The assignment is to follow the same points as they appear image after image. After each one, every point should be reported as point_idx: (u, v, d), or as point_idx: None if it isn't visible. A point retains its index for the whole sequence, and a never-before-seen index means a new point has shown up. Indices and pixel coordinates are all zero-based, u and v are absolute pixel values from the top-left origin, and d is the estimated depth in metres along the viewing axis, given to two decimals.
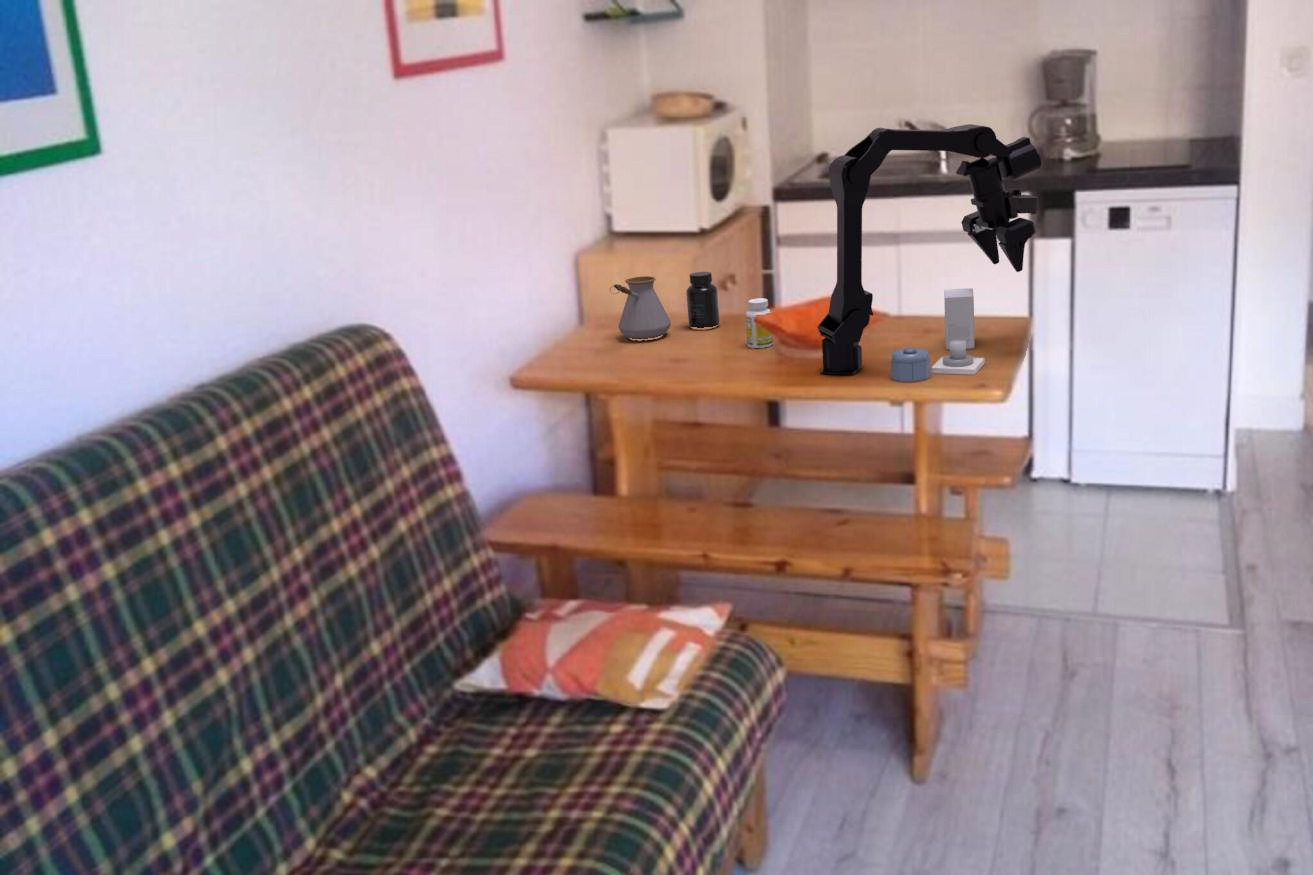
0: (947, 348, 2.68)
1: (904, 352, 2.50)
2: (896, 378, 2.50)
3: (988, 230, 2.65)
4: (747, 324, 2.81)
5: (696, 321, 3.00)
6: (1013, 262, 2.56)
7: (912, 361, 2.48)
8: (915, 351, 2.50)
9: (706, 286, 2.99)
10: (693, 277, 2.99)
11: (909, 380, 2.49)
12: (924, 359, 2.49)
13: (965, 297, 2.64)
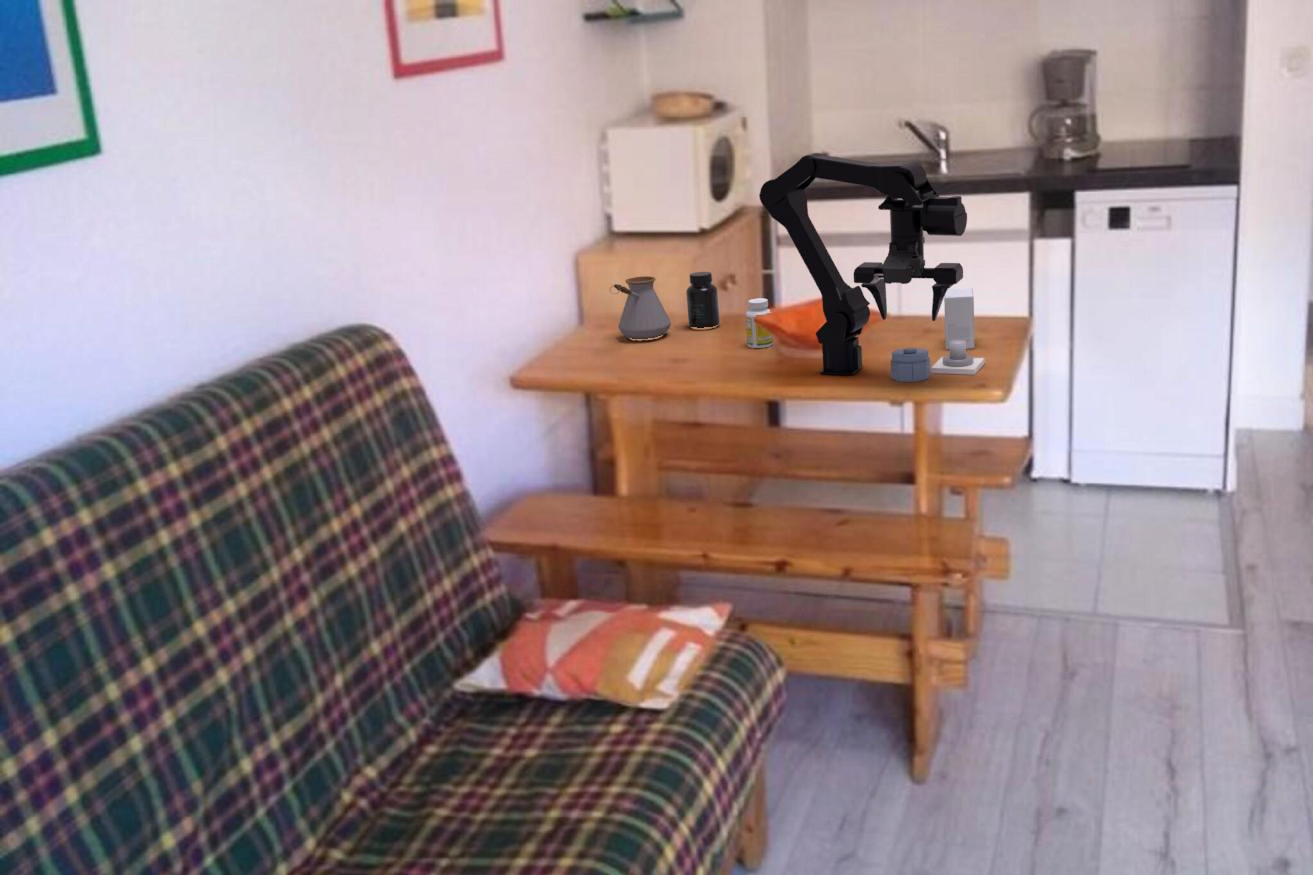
0: (947, 348, 2.68)
1: (904, 352, 2.50)
2: (896, 378, 2.50)
3: None
4: (747, 324, 2.81)
5: (696, 321, 3.00)
6: None
7: (912, 361, 2.48)
8: (915, 351, 2.50)
9: (706, 286, 2.99)
10: (693, 277, 2.99)
11: (909, 380, 2.49)
12: (924, 359, 2.49)
13: (965, 297, 2.64)
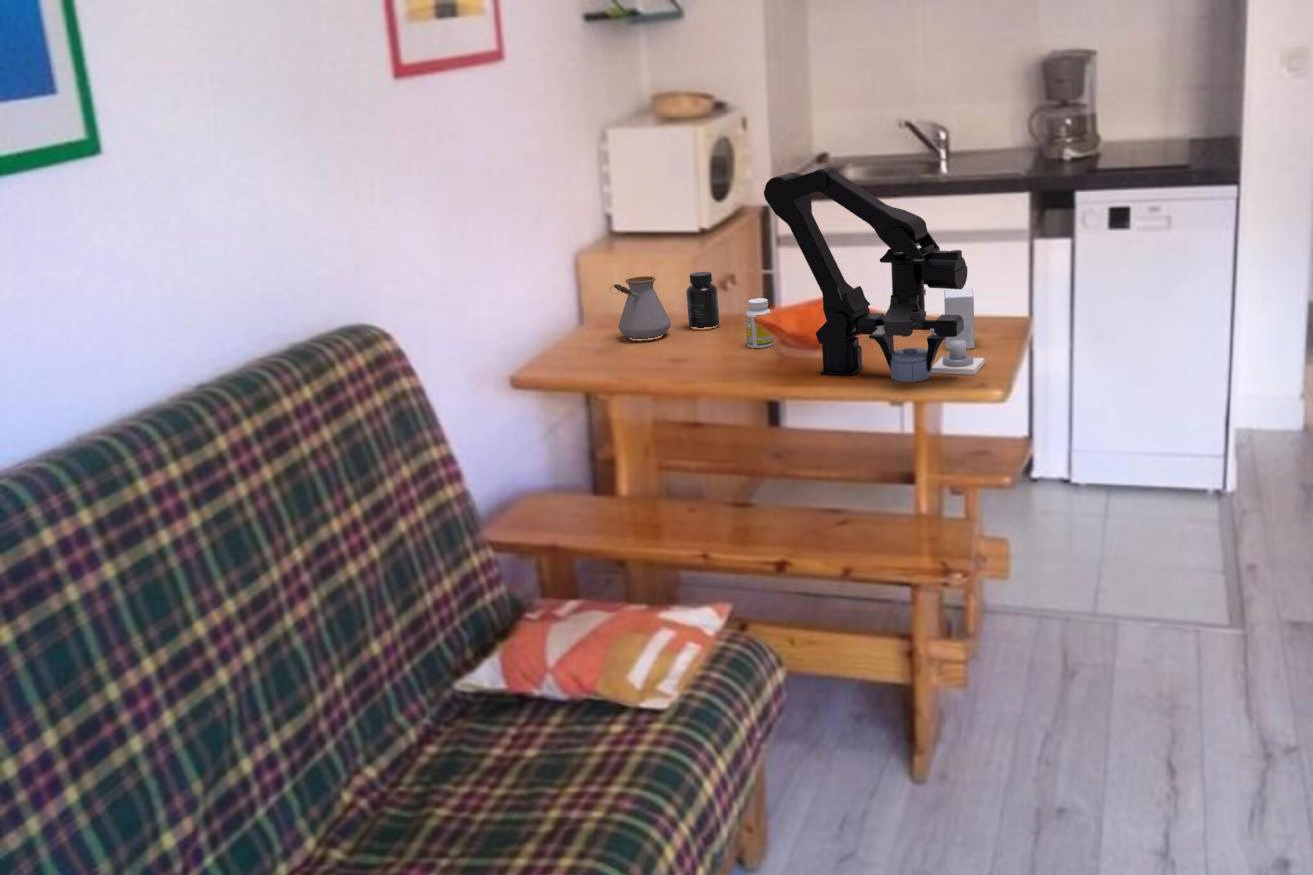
0: (947, 348, 2.68)
1: (904, 352, 2.50)
2: (896, 378, 2.50)
3: None
4: (747, 324, 2.81)
5: (696, 321, 3.00)
6: None
7: (912, 361, 2.48)
8: (915, 351, 2.50)
9: (706, 286, 2.99)
10: (693, 277, 2.99)
11: (909, 380, 2.49)
12: (924, 359, 2.49)
13: (965, 297, 2.64)
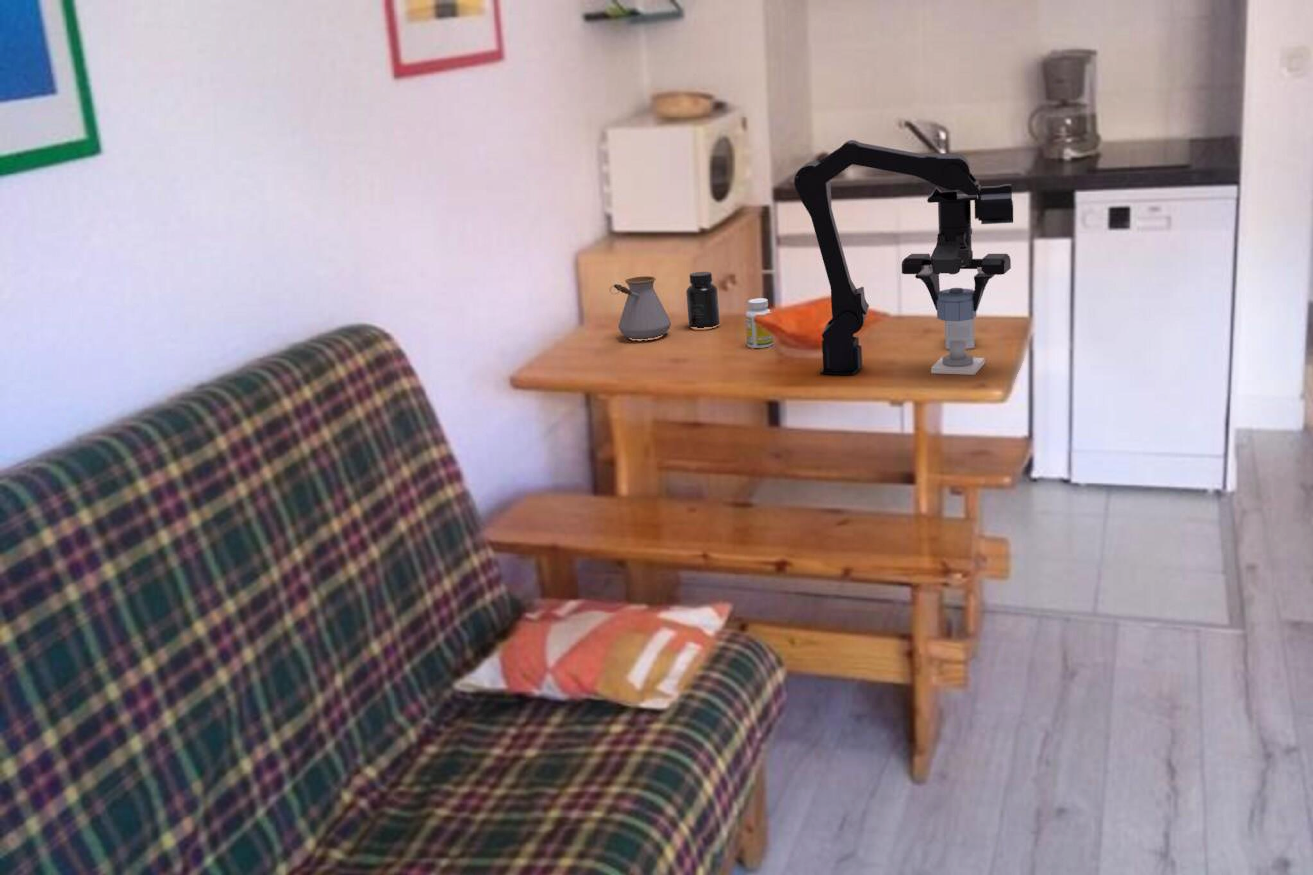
0: (947, 348, 2.68)
1: (950, 292, 2.50)
2: (942, 318, 2.50)
3: None
4: (747, 324, 2.81)
5: (696, 321, 3.00)
6: None
7: (959, 300, 2.48)
8: (961, 291, 2.50)
9: (706, 286, 2.99)
10: (693, 277, 2.99)
11: (956, 319, 2.49)
12: (971, 298, 2.48)
13: None
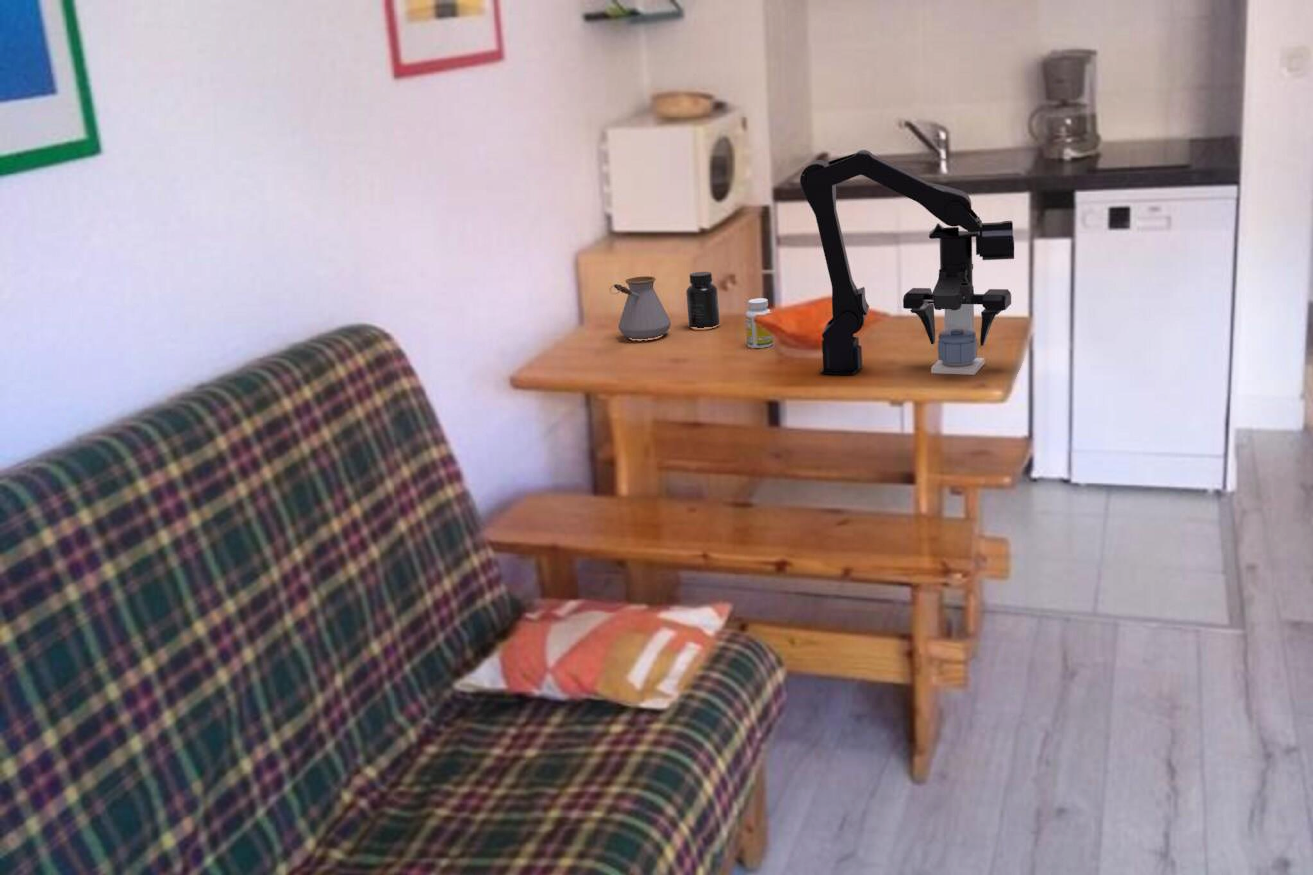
0: None
1: (951, 333, 2.52)
2: (944, 359, 2.53)
3: None
4: (747, 324, 2.81)
5: (696, 321, 3.00)
6: None
7: (960, 342, 2.50)
8: (962, 332, 2.52)
9: (706, 286, 2.99)
10: (693, 277, 2.99)
11: (957, 361, 2.51)
12: (972, 340, 2.51)
13: None
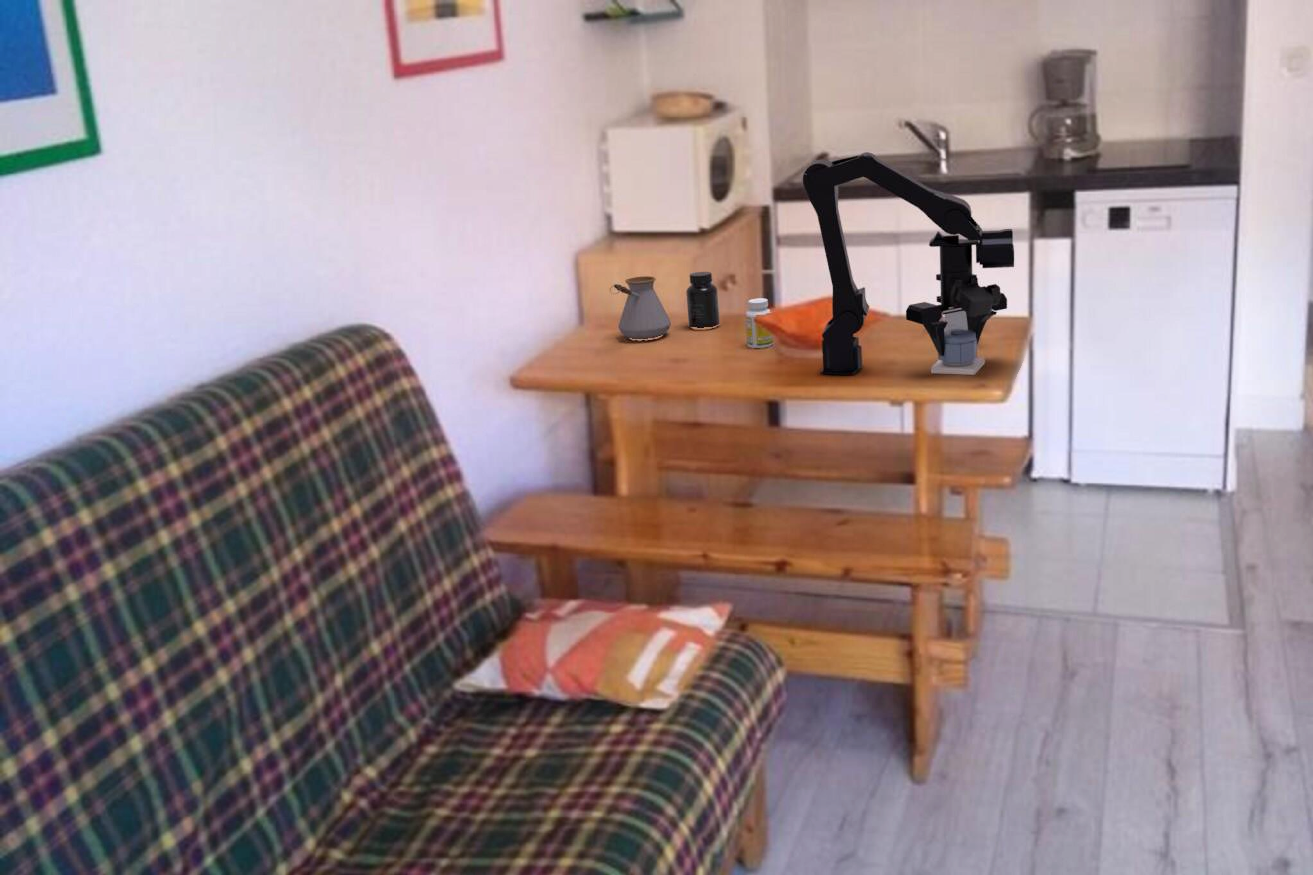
0: None
1: (951, 333, 2.52)
2: (944, 359, 2.53)
3: None
4: (747, 324, 2.81)
5: (696, 321, 3.00)
6: (933, 342, 2.53)
7: (960, 342, 2.50)
8: (962, 332, 2.52)
9: (706, 286, 2.99)
10: (693, 277, 2.99)
11: (957, 361, 2.51)
12: (972, 340, 2.51)
13: None
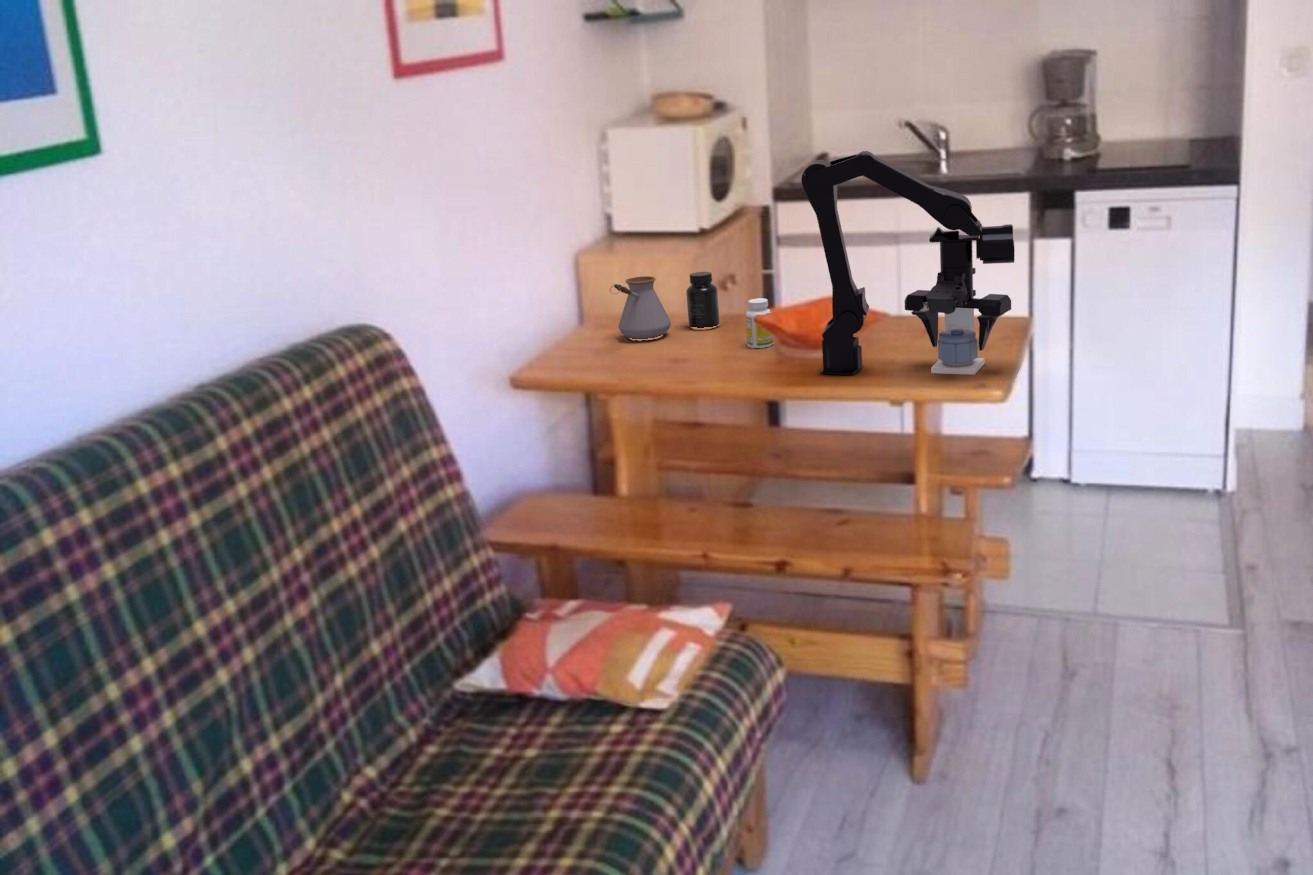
0: None
1: (951, 332, 2.53)
2: None
3: None
4: (747, 324, 2.81)
5: (696, 321, 3.00)
6: None
7: (943, 341, 2.52)
8: (957, 333, 2.52)
9: (706, 286, 2.99)
10: (693, 277, 2.99)
11: (941, 359, 2.53)
12: (955, 342, 2.50)
13: None
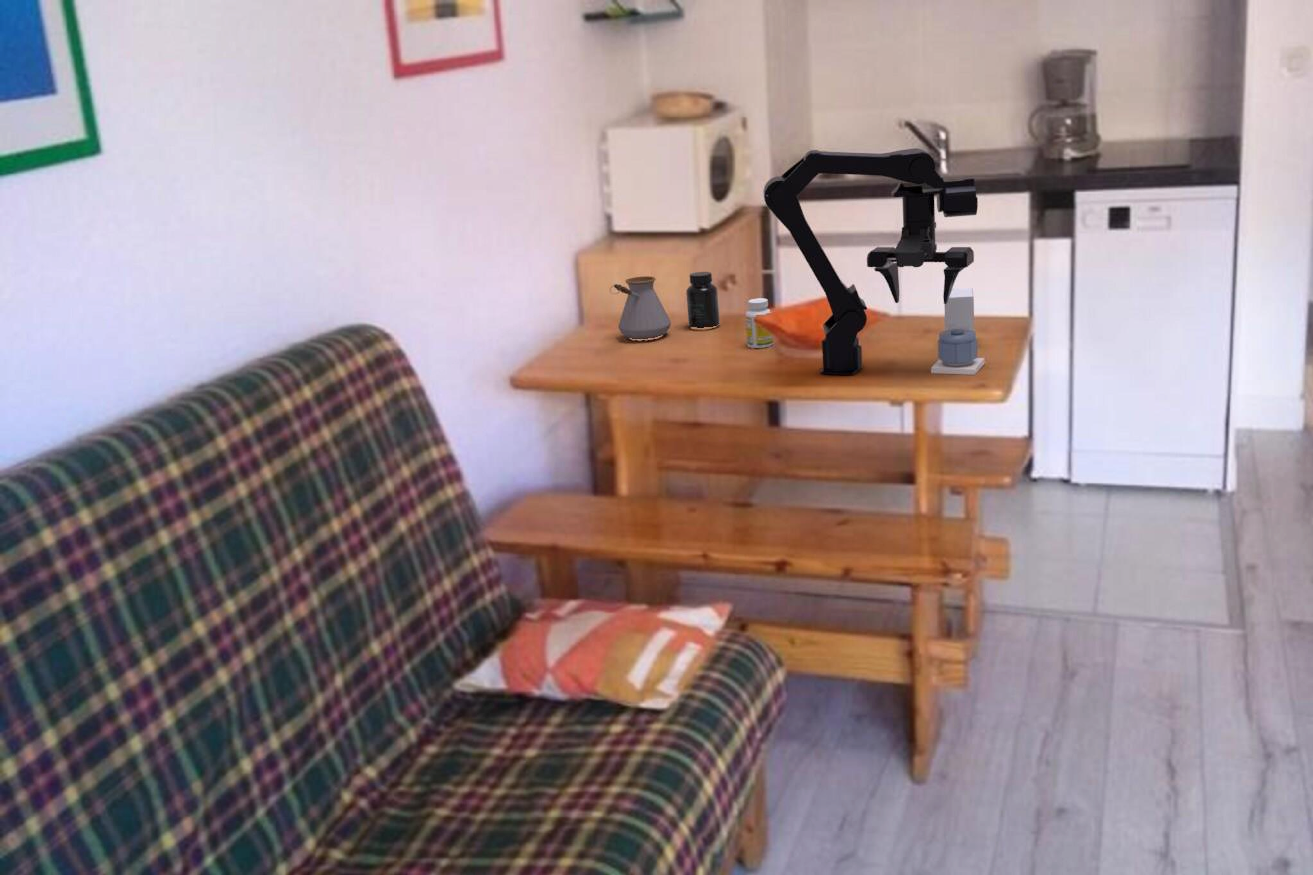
0: None
1: (951, 332, 2.53)
2: None
3: None
4: (747, 324, 2.81)
5: (695, 321, 3.00)
6: None
7: (943, 341, 2.52)
8: (957, 333, 2.52)
9: (706, 286, 2.99)
10: (693, 277, 2.99)
11: (941, 359, 2.53)
12: (955, 342, 2.50)
13: (965, 297, 2.64)
